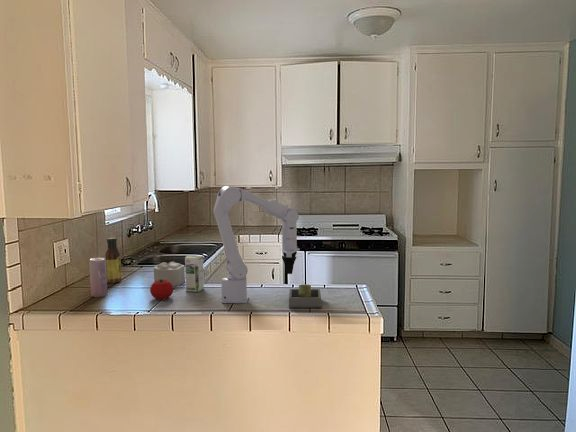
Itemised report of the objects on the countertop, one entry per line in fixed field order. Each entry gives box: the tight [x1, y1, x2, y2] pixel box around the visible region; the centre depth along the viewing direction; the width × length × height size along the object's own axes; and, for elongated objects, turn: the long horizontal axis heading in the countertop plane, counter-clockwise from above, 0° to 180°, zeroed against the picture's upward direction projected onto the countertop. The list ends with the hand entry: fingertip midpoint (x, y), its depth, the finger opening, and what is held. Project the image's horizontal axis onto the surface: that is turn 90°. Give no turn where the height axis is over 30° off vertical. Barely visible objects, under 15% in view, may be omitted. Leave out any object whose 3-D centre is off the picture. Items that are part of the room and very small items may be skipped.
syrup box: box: [184, 254, 205, 293], centre depth 181 cm, size 6×6×14 cm
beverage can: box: [88, 257, 108, 298], centre depth 174 cm, size 6×6×15 cm
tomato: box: [149, 279, 174, 301], centre depth 170 cm, size 9×9×8 cm
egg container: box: [153, 261, 186, 287], centre depth 194 cm, size 10×13×9 cm
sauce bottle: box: [105, 237, 123, 284], centre depth 195 cm, size 7×6×20 cm
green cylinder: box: [298, 283, 312, 297], centre depth 162 cm, size 5×5×6 cm
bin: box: [288, 288, 322, 310], centre depth 162 cm, size 12×12×4 cm
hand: (289, 271), depth 173 cm, fingers open, 7 cm apart
